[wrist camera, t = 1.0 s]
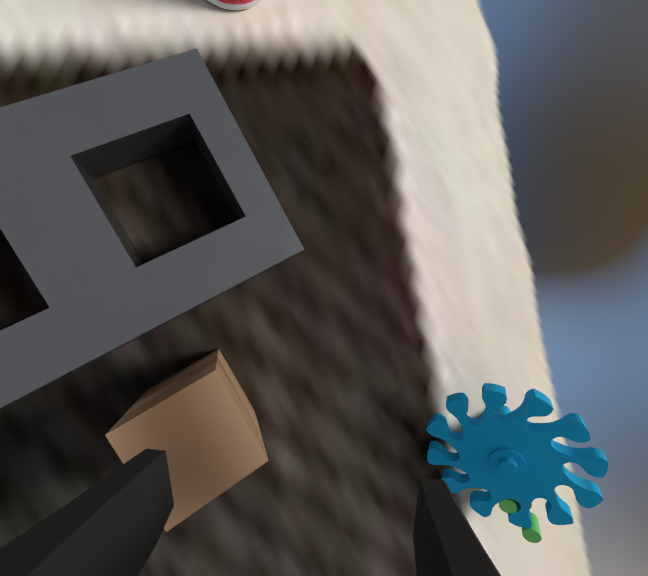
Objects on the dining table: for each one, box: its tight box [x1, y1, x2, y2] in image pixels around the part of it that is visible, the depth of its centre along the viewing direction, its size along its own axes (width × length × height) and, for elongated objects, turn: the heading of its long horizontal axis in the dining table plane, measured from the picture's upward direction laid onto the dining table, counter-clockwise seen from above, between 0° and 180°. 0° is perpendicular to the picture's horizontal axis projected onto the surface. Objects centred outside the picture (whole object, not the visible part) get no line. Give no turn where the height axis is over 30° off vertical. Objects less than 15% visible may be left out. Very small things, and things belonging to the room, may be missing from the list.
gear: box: [426, 383, 608, 543], centre depth 23 cm, size 11×6×10 cm
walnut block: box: [105, 349, 268, 532], centre depth 16 cm, size 4×4×7 cm
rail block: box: [0, 49, 304, 410], centre depth 17 cm, size 20×12×3 cm, turn 119°
